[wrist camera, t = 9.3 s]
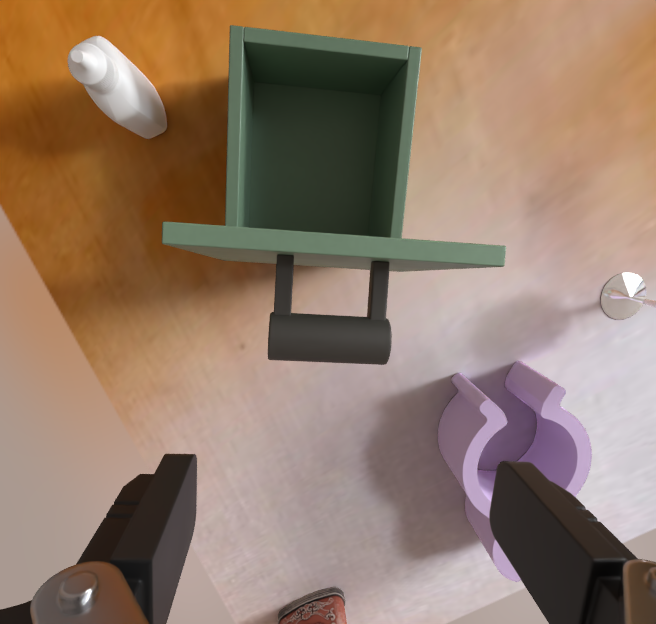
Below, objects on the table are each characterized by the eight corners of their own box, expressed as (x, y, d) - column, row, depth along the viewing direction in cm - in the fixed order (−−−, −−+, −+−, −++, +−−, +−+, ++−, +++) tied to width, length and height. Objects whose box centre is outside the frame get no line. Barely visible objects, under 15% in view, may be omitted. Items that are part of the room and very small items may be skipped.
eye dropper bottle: (116, 137, 38) (41, 102, 27) (114, 66, 37) (35, -2, 25) (168, 141, 39) (116, 110, 27) (168, 72, 38) (113, 7, 26)
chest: (244, 72, 38) (229, 24, 28) (389, 88, 39) (422, 47, 30) (239, 245, 41) (224, 254, 32) (373, 254, 42) (398, 265, 33)
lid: (162, 220, 16) (157, 366, 16) (506, 245, 17) (494, 379, 17) (223, 249, 31) (220, 322, 31) (400, 260, 32) (395, 330, 33)
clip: (554, 518, 51) (595, 564, 44) (450, 540, 50) (475, 591, 43) (545, 355, 46) (588, 379, 40) (430, 378, 46) (454, 406, 39)
